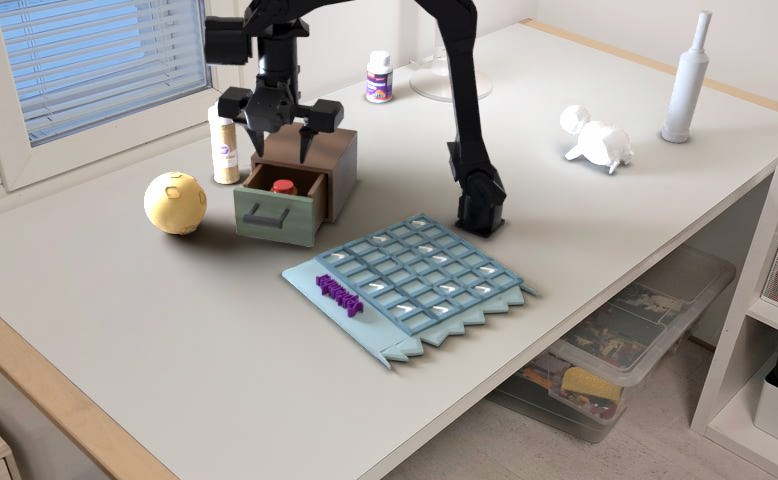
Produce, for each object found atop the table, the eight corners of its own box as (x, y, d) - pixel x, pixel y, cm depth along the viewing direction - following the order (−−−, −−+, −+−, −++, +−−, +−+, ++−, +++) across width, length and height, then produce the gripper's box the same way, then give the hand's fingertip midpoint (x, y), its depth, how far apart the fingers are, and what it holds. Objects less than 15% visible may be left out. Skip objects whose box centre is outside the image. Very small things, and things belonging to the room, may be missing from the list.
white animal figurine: (622, 173, 168) (567, 122, 173) (645, 141, 162) (587, 89, 166) (597, 188, 163) (541, 135, 168) (620, 156, 157) (561, 102, 161)
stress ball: (155, 250, 139) (146, 195, 133) (143, 219, 146) (135, 166, 140) (216, 238, 142) (211, 184, 136) (202, 208, 149) (196, 156, 143)
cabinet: (333, 223, 146) (332, 170, 140) (253, 210, 149) (250, 157, 143) (356, 181, 157) (357, 130, 151) (282, 170, 160) (280, 119, 154)
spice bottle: (291, 208, 146) (289, 174, 142) (303, 221, 143) (302, 187, 139) (266, 215, 144) (264, 181, 140) (278, 228, 141) (276, 194, 137)
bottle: (691, 143, 172) (725, 17, 157) (664, 142, 172) (696, 16, 157) (683, 131, 176) (716, 7, 161) (658, 131, 176) (688, 7, 161)
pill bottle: (362, 100, 185) (363, 56, 179) (372, 90, 189) (373, 47, 183) (386, 105, 183) (387, 60, 177) (395, 95, 187) (397, 51, 181)
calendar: (538, 298, 131) (541, 285, 130) (391, 371, 117) (392, 358, 116) (422, 219, 148) (423, 207, 146) (282, 276, 134) (281, 263, 133)
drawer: (302, 264, 135) (301, 218, 130) (224, 250, 138) (220, 205, 132) (337, 205, 149) (337, 161, 144) (266, 193, 152) (263, 150, 147)
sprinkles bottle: (217, 186, 155) (210, 116, 147) (212, 174, 158) (206, 105, 150) (242, 183, 156) (237, 113, 148) (237, 171, 160) (232, 102, 151)
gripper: (195, 77, 123) (205, 175, 132) (322, 94, 119) (323, 194, 129) (226, 48, 132) (233, 142, 141) (345, 64, 128) (344, 159, 137)
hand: (281, 159), depth 137 cm, fingers open, 6 cm apart
